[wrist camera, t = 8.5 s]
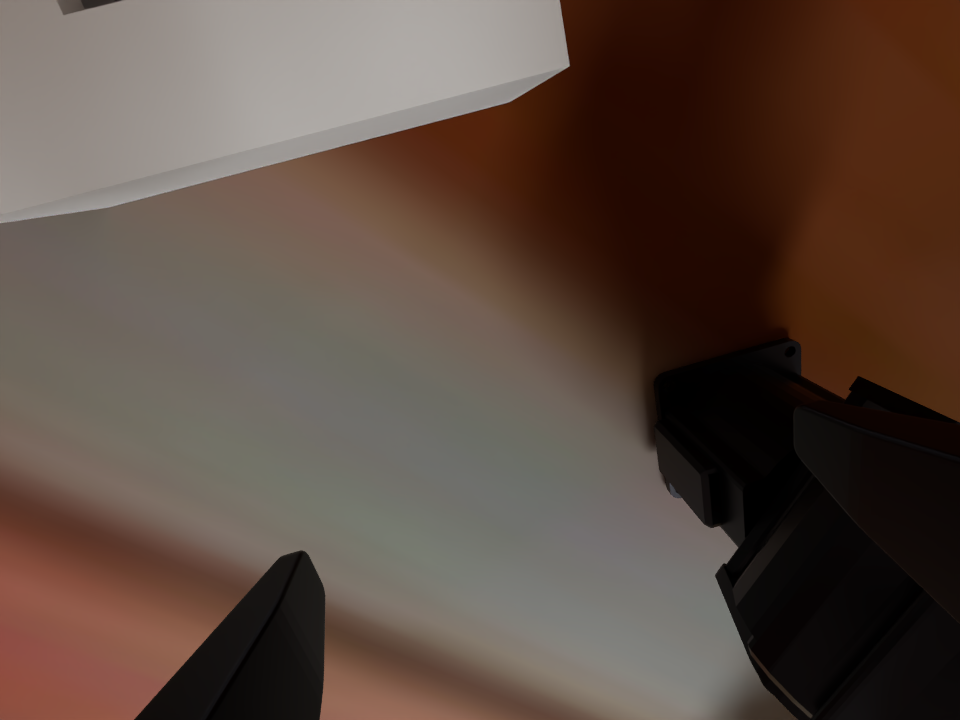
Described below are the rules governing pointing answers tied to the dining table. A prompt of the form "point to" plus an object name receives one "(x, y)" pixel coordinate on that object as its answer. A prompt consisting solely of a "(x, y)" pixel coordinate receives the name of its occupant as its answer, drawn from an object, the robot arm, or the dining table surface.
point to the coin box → (239, 85)
